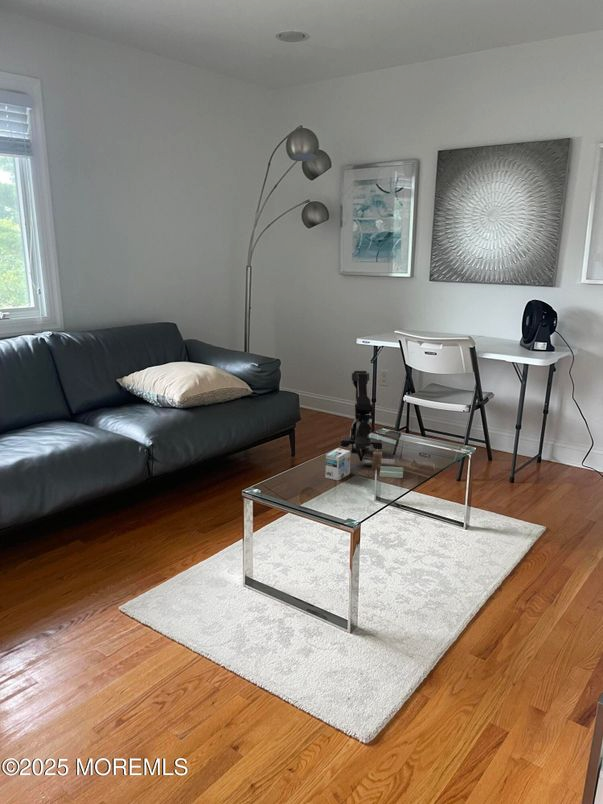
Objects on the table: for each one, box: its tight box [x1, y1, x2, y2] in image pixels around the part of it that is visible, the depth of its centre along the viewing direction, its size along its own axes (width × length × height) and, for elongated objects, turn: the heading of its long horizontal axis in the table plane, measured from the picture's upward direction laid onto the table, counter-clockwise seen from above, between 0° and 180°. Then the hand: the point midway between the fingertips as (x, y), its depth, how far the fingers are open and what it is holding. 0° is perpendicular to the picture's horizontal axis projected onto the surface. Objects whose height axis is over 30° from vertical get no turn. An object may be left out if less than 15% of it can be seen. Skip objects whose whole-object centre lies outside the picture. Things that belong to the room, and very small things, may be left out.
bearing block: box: [371, 451, 383, 470], centre depth 279 cm, size 4×10×5 cm, turn 170°
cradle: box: [379, 466, 404, 479], centre depth 270 cm, size 10×8×2 cm
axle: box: [363, 456, 396, 467], centre depth 279 cm, size 14×4×4 cm, turn 80°
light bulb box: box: [325, 447, 352, 481], centre depth 266 cm, size 11×7×11 cm, turn 146°
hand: (361, 461), depth 281 cm, fingers closed
